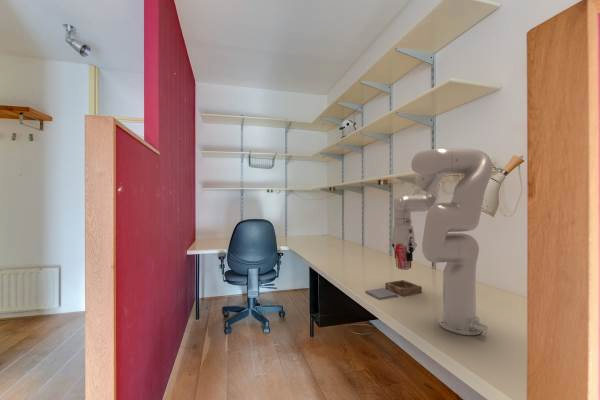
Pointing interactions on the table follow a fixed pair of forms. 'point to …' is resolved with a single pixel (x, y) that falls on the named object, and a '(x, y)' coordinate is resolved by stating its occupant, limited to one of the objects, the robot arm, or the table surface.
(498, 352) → the table surface
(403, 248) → the soda can
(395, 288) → the brown wooden tray
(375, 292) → the mat
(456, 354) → the table surface
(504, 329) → the table surface
